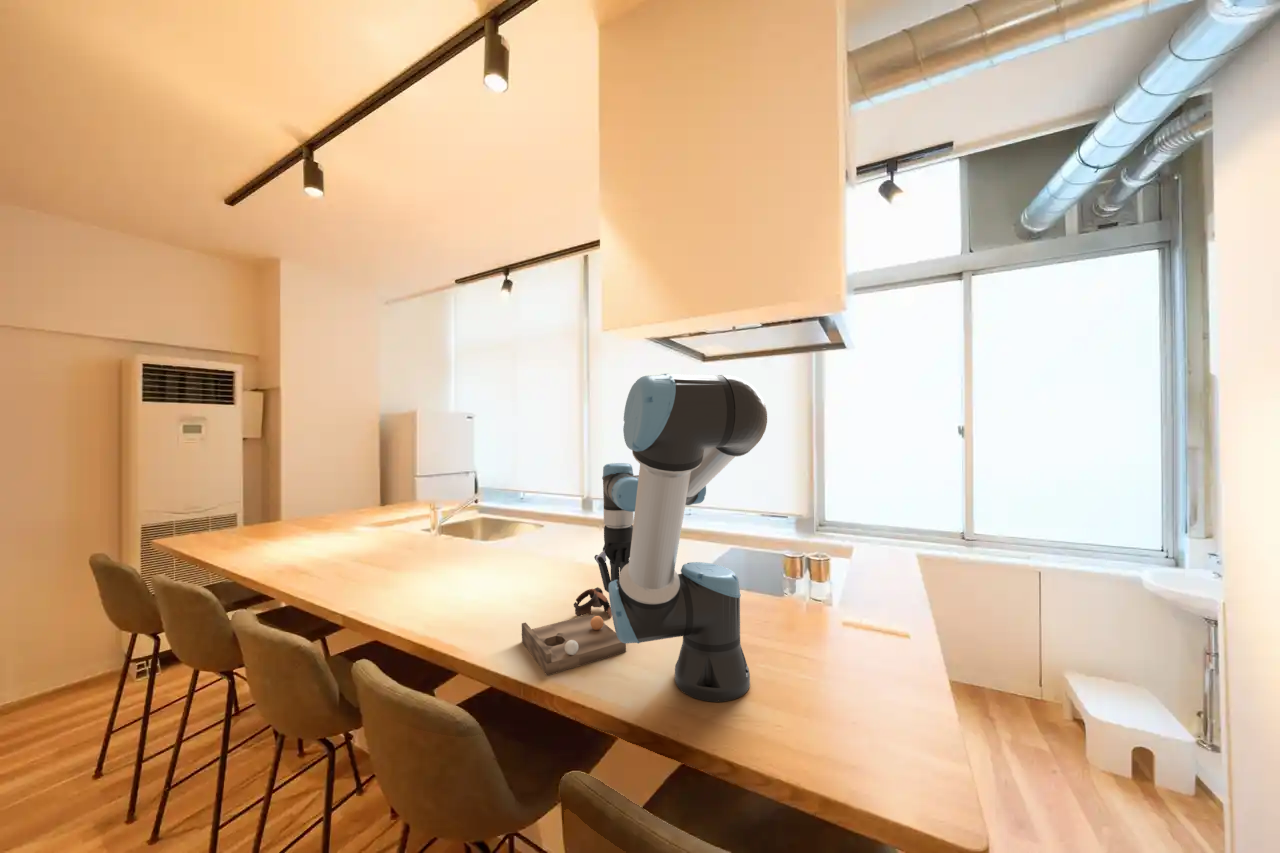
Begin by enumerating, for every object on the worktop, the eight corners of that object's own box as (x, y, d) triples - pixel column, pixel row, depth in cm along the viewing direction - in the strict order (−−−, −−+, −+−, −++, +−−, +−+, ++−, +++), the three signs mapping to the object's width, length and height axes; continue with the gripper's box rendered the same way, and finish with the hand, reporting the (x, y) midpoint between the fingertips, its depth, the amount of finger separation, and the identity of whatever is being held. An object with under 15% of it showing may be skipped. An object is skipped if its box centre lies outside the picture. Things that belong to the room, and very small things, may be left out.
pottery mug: (612, 625, 123) (597, 601, 122) (582, 638, 125) (566, 615, 123) (617, 596, 135) (603, 574, 133) (589, 609, 136) (575, 587, 135)
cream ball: (580, 655, 101) (580, 641, 101) (567, 659, 100) (567, 645, 100) (575, 649, 104) (575, 636, 104) (562, 653, 102) (562, 639, 102)
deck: (625, 651, 108) (625, 632, 108) (547, 675, 98) (546, 654, 98) (592, 623, 123) (592, 606, 123) (522, 641, 113) (521, 623, 113)
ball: (606, 630, 113) (605, 617, 113) (594, 633, 112) (593, 620, 112) (600, 625, 116) (600, 612, 116) (588, 628, 114) (588, 615, 114)
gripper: (633, 519, 123) (635, 607, 124) (588, 525, 117) (590, 618, 117) (648, 524, 117) (650, 617, 117) (601, 531, 110) (603, 630, 111)
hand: (620, 618), depth 117 cm, fingers closed
